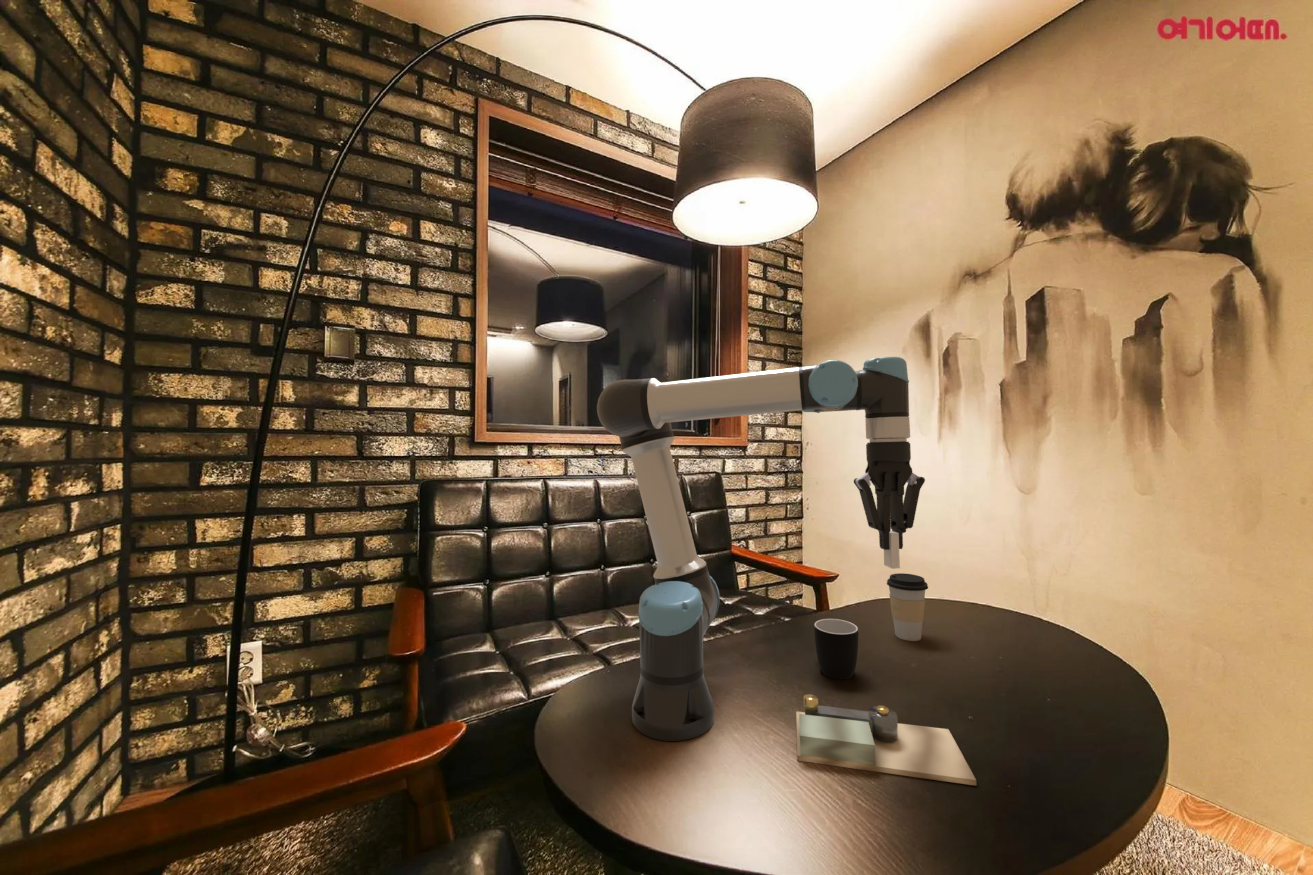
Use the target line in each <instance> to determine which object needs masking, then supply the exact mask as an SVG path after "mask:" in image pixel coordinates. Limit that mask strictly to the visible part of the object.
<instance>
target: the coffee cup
mask: <svg viewBox="0 0 1313 875" xmlns="http://www.w3.org/2000/svg"><path fill="white" fill-rule="evenodd" d="M886 585H887V586H888V588H889V589H888V590H889V602H890V608H891V616H892V618H893V620H892V621H893V626H894V633H895V636H896V637H897V638H898V639H899V640H904V641H907V642H908V641H909V642H917V641H921V639H922V631H923V621H924V616H925V605H926V597H925V596H926V590H927V589H929V586H928V583H927V582H926V581H925V578H924V577H923V576H920V575H917V574H912V573H904V572H903V573H902V572H901V573H892V574H890V575H889V578H888V579H887V580H886Z"/></svg>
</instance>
